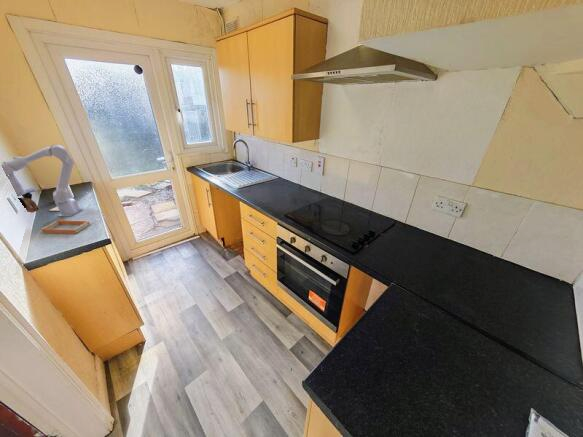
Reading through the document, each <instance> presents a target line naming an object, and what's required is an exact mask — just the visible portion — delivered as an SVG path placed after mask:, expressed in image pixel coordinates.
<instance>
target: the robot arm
mask: <svg viewBox="0 0 583 437" xmlns="http://www.w3.org/2000/svg"><path fill="white" fill-rule="evenodd" d="M44 157H50V158H51V157H55V158H57V159H59V160H60V161H61V163H62V164H61V168H60V171H59V172H60V173H59V176H58V181H57V185H56V188H55V190H53V192H52V196H53V197H52V199H53V201H54V203H55V205H56V207H58V209H59V210H60V211H59V212H60V214H58V215H57V216H58V217H72V216H73V215H75V214H77V213H79V212H81V211H82V210H83V209H82V208H81V207H80V205H79V203H78V202H77V200H76V199H74V198H67V188H68V184H69V185H70V179H71V175H72V172H73V168H74V163H75V162H74V159H73V158H72V157H71V154H70V153H69V151H68V150H67V149H66V148H65V147H64V146H63V145H61V144H57V143H55V144H52V145H51V146H50V145H48V146H46V147H43V148H41V149H39V150H36V151H34V152H32V153H30V154H28V155H25V156H13V157H12V159H10V160H7V161H3V162H2V163H1V164H2V165H1V166H2V168H3V170H4V172H5V174H6V176H7V177H8V179H9V180H10V182H11V184H12V186H13V188H14V190H15V192H16V194H17V196H18V197H22V198H28V199H31V200H33V193H36V192H37V188H36V187H31V188H25V187H24V185H23V184H22V182H21V181H20V179H19V178H18V176H17V175H16V173H15V172H18V171H20V170H22V169H24V168H27V167H29V166H30V164H31V163H32V162H34V161H36V160H39V159H41V158H44ZM8 175H9V176H8ZM22 198H18V199H19V200H20V202H21V203H22V205H23V206H24V208H26V206H25V204H24V203H23V201H22Z"/></svg>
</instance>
